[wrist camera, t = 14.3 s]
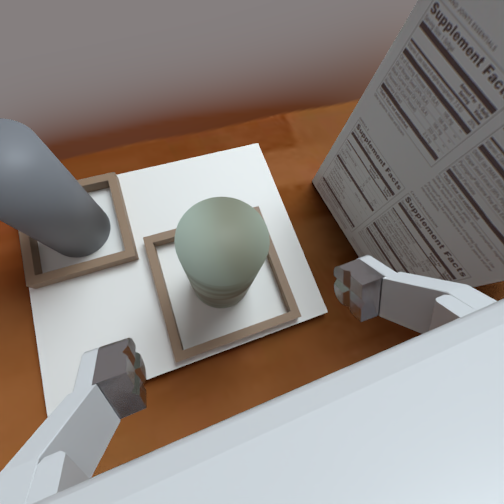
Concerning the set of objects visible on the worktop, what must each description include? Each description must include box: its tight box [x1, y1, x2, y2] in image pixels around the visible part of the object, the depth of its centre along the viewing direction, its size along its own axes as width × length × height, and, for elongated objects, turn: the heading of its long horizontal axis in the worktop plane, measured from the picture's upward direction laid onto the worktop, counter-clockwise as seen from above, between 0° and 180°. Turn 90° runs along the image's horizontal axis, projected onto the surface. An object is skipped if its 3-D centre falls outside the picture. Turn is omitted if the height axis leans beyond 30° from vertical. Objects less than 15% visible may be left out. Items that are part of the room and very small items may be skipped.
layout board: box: [0, 118, 328, 416], centre depth 18 cm, size 20×16×10 cm
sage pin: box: [174, 197, 270, 308], centre depth 17 cm, size 4×4×9 cm
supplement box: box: [312, 0, 504, 287], centre depth 18 cm, size 13×13×18 cm
